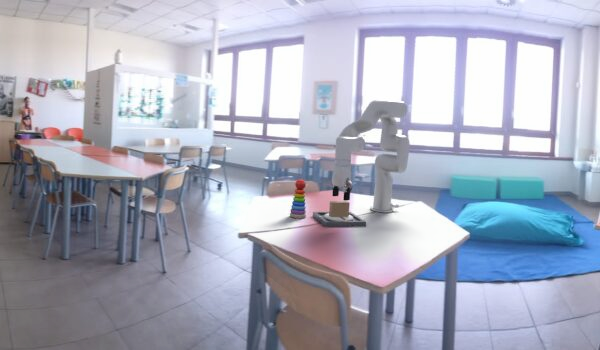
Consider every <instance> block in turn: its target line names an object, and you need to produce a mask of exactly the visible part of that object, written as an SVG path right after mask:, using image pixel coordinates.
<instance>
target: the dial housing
mask: <svg viewBox="0 0 600 350" xmlns="http://www.w3.org/2000/svg"><path fill="white" fill-rule="evenodd" d="M327 213H329V211H312V217H313V218H314V219H316V220H317V222H319V223H320V224H321V225H323V226H324V227H325V228H333V227H334V228H335V227H336V228H338V227H340V228H341V227H342V228H343V227H344V228H345V227H348V228H349V227H366V226H367V220H365V219H363V218H361V217H359V216H358V215H356V214H354V213H353V212H352V211H349V215H351V216H353V220H352V221H331V220H327V219H325V218H324V215H325V214H327Z"/></svg>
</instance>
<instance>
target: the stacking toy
mask: <svg viewBox="0 0 600 350" xmlns="http://www.w3.org/2000/svg"><path fill="white" fill-rule="evenodd" d="M294 185H295V189H294V193H293V200H292V205H291V208H290V213H289V216H290V217H291V218H294V219H305V218H306V217H307V216H306V212H307V210H306V198H305V197H306V190H305V188H306V181H305V180H304V179H301V178H299V179H297V180H296V181H295V184H294Z"/></svg>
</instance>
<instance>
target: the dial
mask: <svg viewBox="0 0 600 350" xmlns="http://www.w3.org/2000/svg"><path fill="white" fill-rule="evenodd" d="M350 205H351V204H350V202H349V200H346V201H344V200H342V201H341V200H340V201H337V200H334V201H333V200H331V201H329V207H328V208H329V211H328V212H329V213H327V214H325V215H324V218H325V219H327V220H331V221H352V220H353V216H351V215H349V212H350Z"/></svg>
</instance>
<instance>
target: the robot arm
mask: <svg viewBox="0 0 600 350" xmlns="http://www.w3.org/2000/svg"><path fill="white" fill-rule="evenodd" d="M407 113H408V106H407V104H406V102H404V101H399V100H391V99H376V100H374V99H373V100H372V101H369V103H368V105H367V106H366V108H365V110H364V111H363V113H361V115H360V117H359V118H358V119H357V120H355V121H353V122H350V124H348V125H346V126H345V127H344V128H343V130H342V131H341V132H340V134H339V135H338V136H337V137H336V138H335V152H334V153H335V154H334V165H333V168H332V174H331V175H332V177H331V178H330V180H331V185H332V187H331V188H332V197H339V194H340V188H342V189H343V190H344V191H343V200H342V201H350V199H351V192H352V190H353V188H354V184H353V182H352V169H351V167H352V166H351V165H352V152H353V153H354V152H355V153H361V152H363V150H364V149H365V148H366V140H365V138H363V137H361V136H359V135H360V134H364V133H367V132H370V131H371V130H373V129H375V127H376V125H377V123H378V122H379V120H380V122H381V134H380V141H379V143H380V144H379V148H380V149H381V150H382V151H383V152H388V153H389V152H390V154H388V153H380V154H378V155H377V156H376V157H375V158H374V159H375V160H374V166H375V167H374V168H375V179H374V189H373V190H374V195H373V204H372V206H370V207H369V208H370V211H373V212H375V213H385V214H387V213H389V214H390V213H393V212H394V208H399V207H400V205H399V204H398V203H393V202H392V196H393V195H392V193H393V184H394V183H393V182H394V179H393V175H392V173H395V174H403V173H405V172H406V170H407V167H408V163H409V153H410V147H411V145H410V139H409V137H408V136H407V135H402V134H398V130H399V125H398V122H397V119H402V118H404V117H405V116H406V115H407ZM395 118H397V119H395ZM391 153H396V154H391Z"/></svg>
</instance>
